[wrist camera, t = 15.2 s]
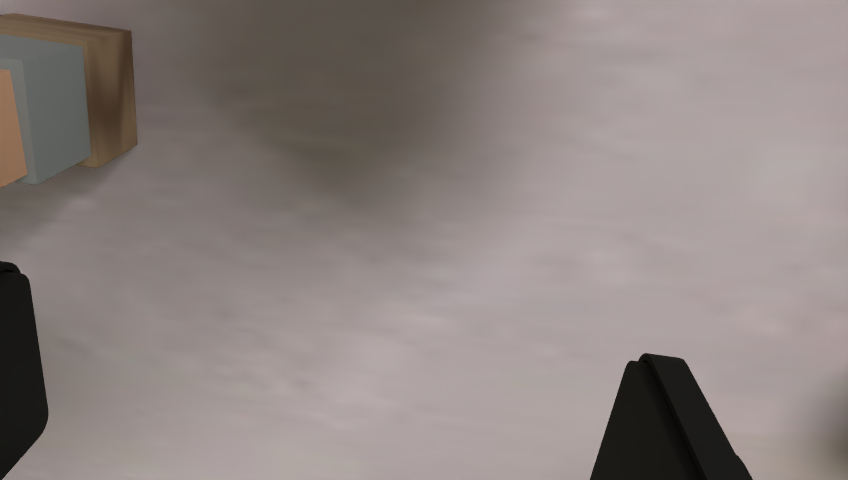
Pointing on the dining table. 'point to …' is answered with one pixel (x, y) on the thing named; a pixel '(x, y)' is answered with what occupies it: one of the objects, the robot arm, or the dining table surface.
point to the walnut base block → (94, 78)
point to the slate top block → (48, 103)
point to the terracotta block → (9, 134)
